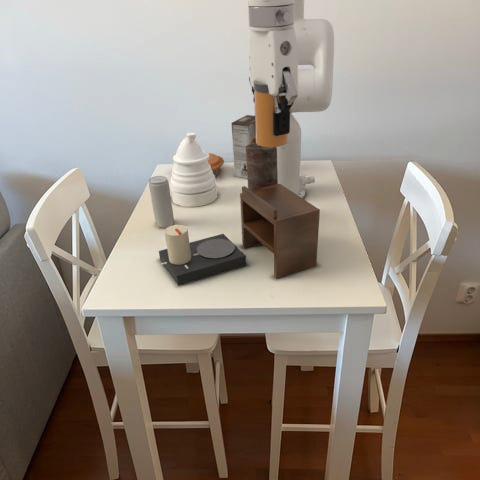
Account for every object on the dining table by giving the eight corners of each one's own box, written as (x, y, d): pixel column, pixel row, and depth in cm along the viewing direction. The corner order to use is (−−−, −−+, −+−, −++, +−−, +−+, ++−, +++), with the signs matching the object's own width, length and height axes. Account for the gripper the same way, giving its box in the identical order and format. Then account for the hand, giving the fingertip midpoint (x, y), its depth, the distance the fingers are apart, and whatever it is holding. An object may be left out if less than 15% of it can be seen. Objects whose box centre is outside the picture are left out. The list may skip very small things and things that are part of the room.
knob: (165, 257, 102) (160, 227, 98) (186, 251, 104) (181, 221, 99) (174, 267, 99) (169, 236, 94) (194, 260, 101) (191, 230, 96)
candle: (244, 228, 117) (241, 147, 105) (254, 215, 122) (251, 137, 110) (274, 231, 115) (273, 149, 102) (282, 218, 120) (283, 139, 108)
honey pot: (225, 198, 132) (220, 132, 121) (184, 210, 127) (176, 143, 116) (203, 184, 141) (197, 122, 130) (164, 195, 135) (155, 131, 124)
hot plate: (223, 242, 111) (223, 232, 110) (246, 265, 103) (246, 255, 101) (153, 262, 106) (152, 252, 104) (171, 288, 97) (169, 277, 96)
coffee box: (249, 166, 151) (247, 114, 141) (266, 169, 148) (265, 116, 138) (233, 176, 145) (230, 122, 135) (251, 179, 142) (249, 124, 132)
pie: (173, 184, 142) (171, 168, 139) (178, 166, 154) (176, 151, 151) (224, 181, 142) (223, 165, 139) (225, 163, 154) (224, 148, 151)
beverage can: (171, 229, 119) (164, 183, 111) (153, 228, 119) (145, 182, 112) (176, 220, 122) (170, 175, 115) (159, 219, 123) (152, 175, 116)
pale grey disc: (225, 236, 109) (225, 235, 108) (241, 252, 102) (241, 251, 102) (191, 246, 106) (190, 244, 106) (205, 262, 100) (205, 261, 99)
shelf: (279, 236, 113) (279, 175, 103) (316, 266, 101) (320, 200, 92) (242, 246, 110) (239, 185, 100) (276, 278, 98) (276, 212, 89)
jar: (278, 134, 94) (278, 74, 87) (295, 143, 89) (297, 80, 82) (249, 140, 91) (246, 79, 85) (265, 150, 87) (264, 86, 80)
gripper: (319, 19, 73) (314, 137, 84) (265, 12, 85) (267, 115, 96) (278, 25, 70) (277, 146, 81) (228, 16, 82) (234, 122, 94)
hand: (272, 128), depth 89 cm, fingers closed on jar, 6 cm apart
